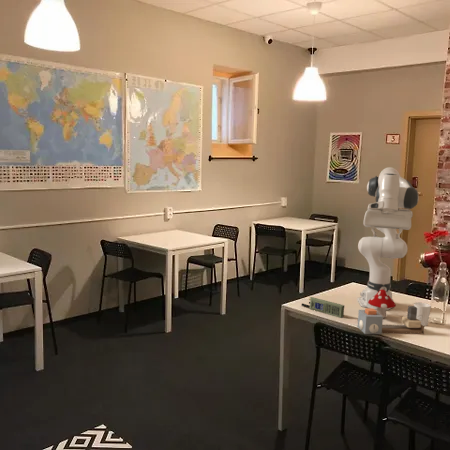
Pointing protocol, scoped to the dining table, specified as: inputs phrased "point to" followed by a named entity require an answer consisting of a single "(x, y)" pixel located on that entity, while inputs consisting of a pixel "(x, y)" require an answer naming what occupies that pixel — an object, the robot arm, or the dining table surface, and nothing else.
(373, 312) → the button
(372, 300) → the decorative mushroom
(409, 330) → the rail
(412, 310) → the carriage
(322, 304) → the handheld radio
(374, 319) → the gauge cabinet
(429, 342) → the dining table surface
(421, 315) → the white cup
